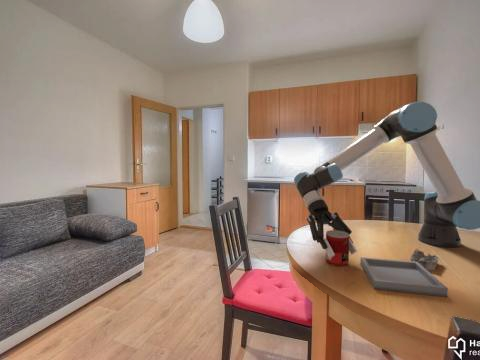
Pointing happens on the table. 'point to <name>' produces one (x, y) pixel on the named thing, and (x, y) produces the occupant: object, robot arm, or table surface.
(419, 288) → the tray
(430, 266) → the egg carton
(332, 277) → the table surface
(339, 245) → the canned food
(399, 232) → the table surface
